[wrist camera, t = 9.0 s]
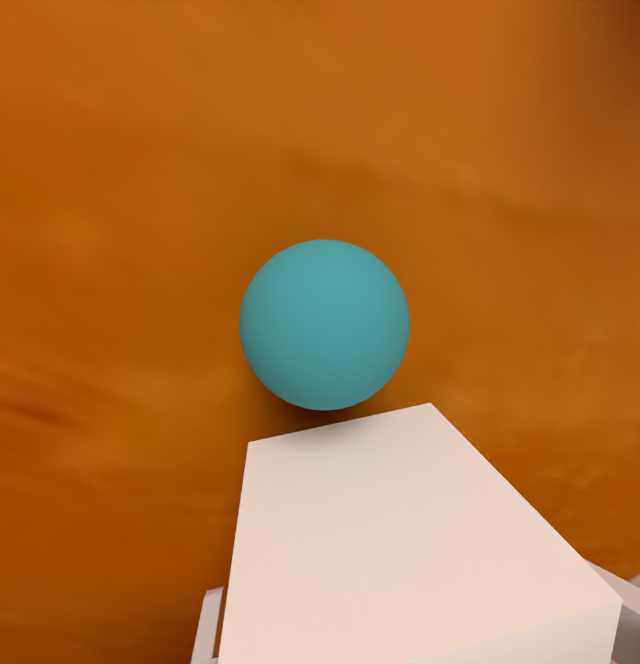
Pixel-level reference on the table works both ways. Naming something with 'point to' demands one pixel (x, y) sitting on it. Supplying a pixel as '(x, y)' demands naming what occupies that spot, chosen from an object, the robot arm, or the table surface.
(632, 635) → the robot arm
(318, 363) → the ball
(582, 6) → the table surface
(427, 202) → the table surface
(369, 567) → the white rectangular prism
